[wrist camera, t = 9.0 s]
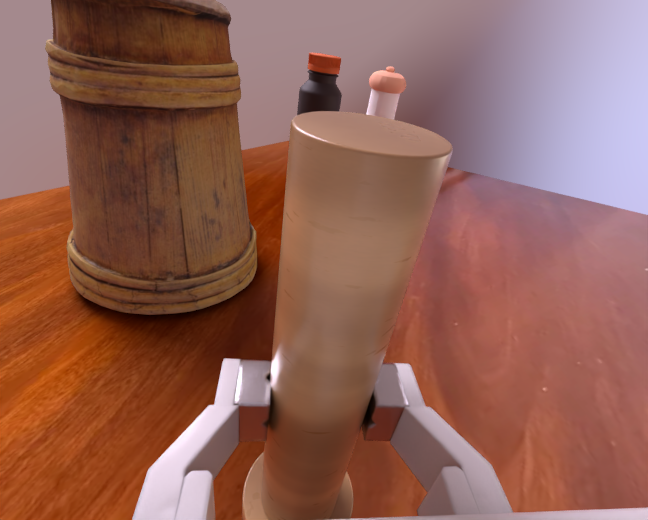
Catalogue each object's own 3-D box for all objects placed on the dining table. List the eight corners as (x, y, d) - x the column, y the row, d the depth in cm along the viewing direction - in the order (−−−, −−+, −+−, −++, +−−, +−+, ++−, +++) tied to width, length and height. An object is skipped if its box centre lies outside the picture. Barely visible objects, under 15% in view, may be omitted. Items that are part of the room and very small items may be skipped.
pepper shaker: (350, 159, 78) (368, 61, 68) (382, 164, 79) (405, 67, 69) (354, 171, 72) (375, 65, 62) (388, 175, 73) (415, 72, 63)
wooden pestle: (314, 616, 13) (485, 200, 4) (220, 548, 15) (193, 119, 6) (356, 501, 17) (500, 137, 8) (276, 455, 18) (319, 96, 9)
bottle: (332, 178, 67) (351, 58, 56) (322, 190, 62) (341, 60, 51) (298, 170, 68) (310, 51, 57) (286, 181, 63) (297, 51, 52)
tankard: (32, 317, 30) (-136, -84, 16) (131, 200, 49) (92, -29, 36) (250, 325, 33) (263, -12, 19) (263, 211, 52) (274, 3, 38)
